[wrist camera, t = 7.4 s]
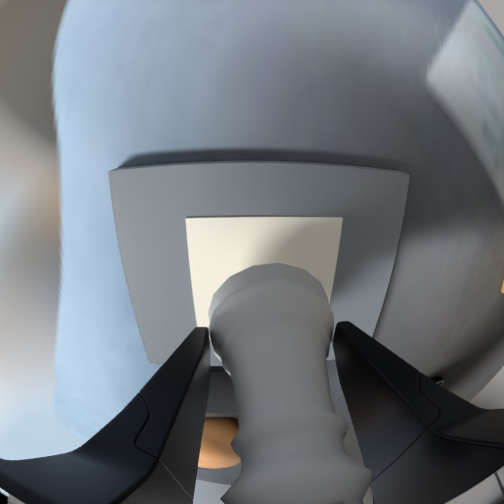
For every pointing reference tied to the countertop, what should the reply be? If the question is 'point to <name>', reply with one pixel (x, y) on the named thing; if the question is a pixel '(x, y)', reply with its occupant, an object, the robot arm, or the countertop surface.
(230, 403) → the button housing
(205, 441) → the button
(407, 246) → the countertop surface
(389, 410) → the robot arm
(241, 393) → the rook chess piece
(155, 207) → the slate board
